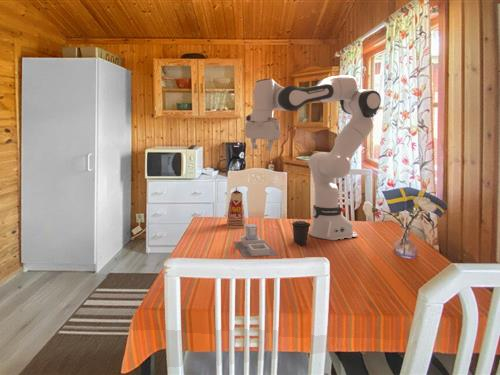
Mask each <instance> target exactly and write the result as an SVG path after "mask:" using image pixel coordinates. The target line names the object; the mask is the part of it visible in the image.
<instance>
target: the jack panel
mask: <svg viewBox="0 0 500 375" xmlns="http://www.w3.org/2000/svg"><path fill="white" fill-rule="evenodd" d="M233 245H235V247H236V249H237V250H238V252H239V253H240V254H241V256H242V257H243V258H251V257H265V256H268V257H269V256H278V255H279V253H277V252H276V251H275V249H273V248H272V247H271V246H270V245H269V243H267V241H265V240H262V239H261V238H260V237H259V236H258V235H257V240H246V239H245V235H241V236H240V241H233Z"/></svg>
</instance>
